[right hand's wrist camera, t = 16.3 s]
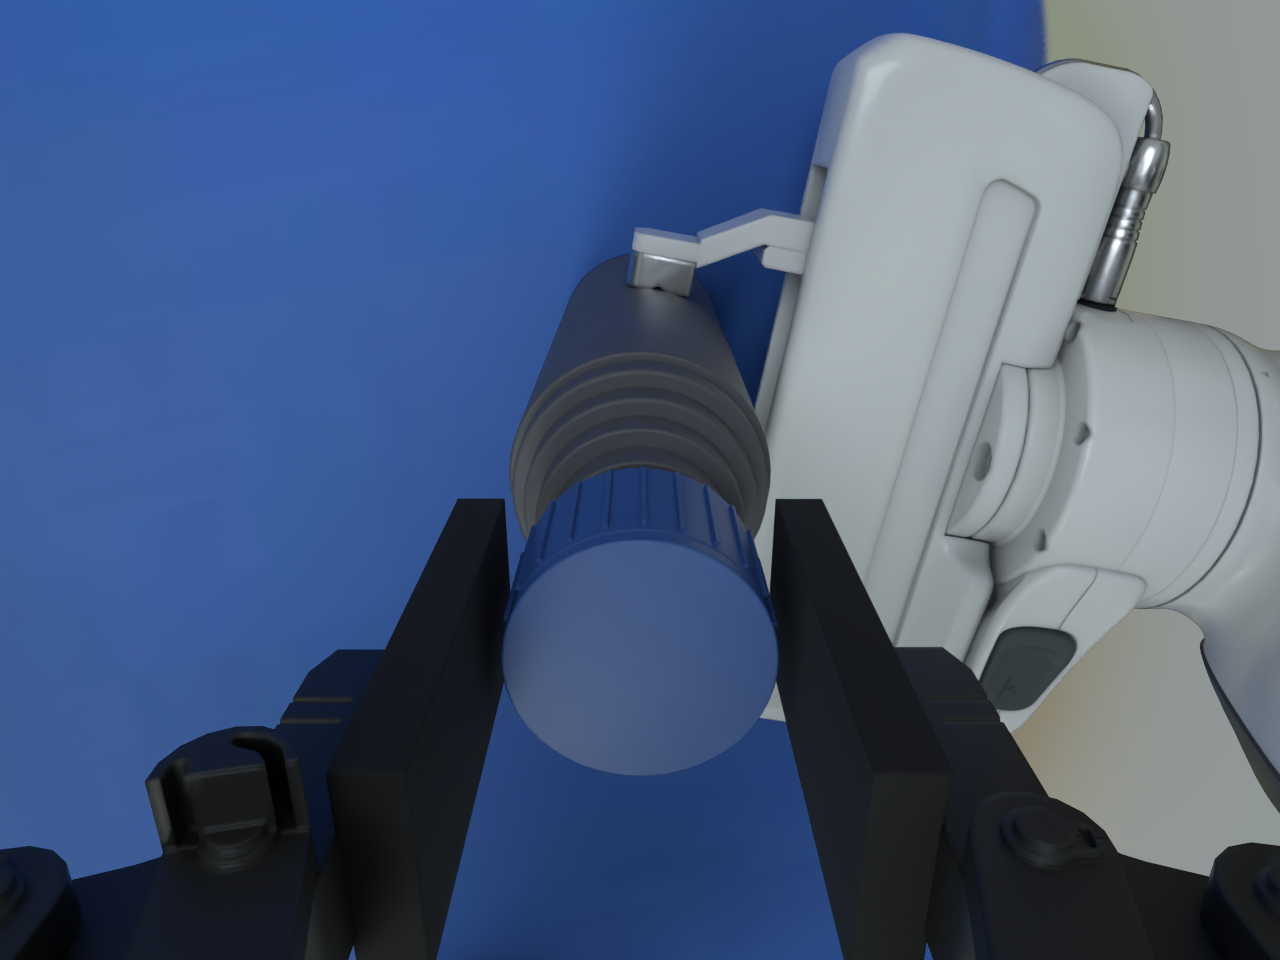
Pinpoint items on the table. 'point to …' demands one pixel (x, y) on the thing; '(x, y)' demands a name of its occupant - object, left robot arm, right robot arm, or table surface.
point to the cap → (640, 625)
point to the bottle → (639, 399)
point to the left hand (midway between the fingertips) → (610, 373)
